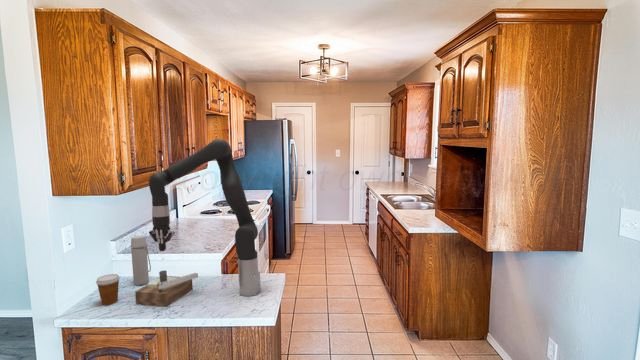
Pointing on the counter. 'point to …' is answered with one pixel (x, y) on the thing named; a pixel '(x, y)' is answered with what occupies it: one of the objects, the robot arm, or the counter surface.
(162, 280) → the lid
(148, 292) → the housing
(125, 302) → the counter surface
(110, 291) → the disposable coffee cup
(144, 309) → the counter surface
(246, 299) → the counter surface
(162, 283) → the latch bar
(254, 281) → the robot arm
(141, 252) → the water bottle
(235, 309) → the counter surface
